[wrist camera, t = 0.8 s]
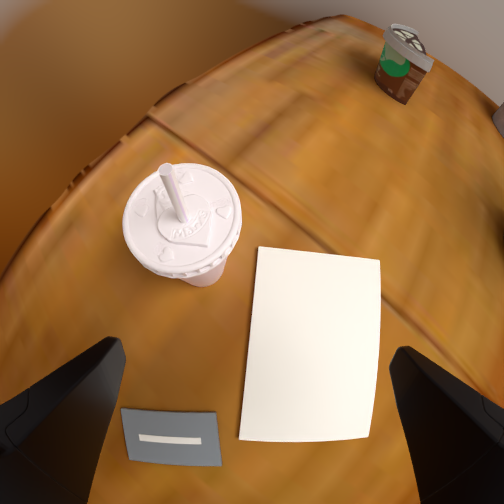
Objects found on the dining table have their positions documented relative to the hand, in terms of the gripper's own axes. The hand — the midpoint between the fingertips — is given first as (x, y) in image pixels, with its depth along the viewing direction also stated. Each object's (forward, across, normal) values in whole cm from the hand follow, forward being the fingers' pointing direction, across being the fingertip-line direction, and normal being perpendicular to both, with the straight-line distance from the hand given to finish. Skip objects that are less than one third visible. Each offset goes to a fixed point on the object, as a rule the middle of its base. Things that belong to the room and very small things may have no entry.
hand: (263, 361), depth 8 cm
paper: (+10, -6, +9) cm, 15 cm away
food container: (+35, -20, -19) cm, 44 cm away
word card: (+5, +6, +15) cm, 17 cm away
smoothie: (+15, +4, +4) cm, 16 cm away
